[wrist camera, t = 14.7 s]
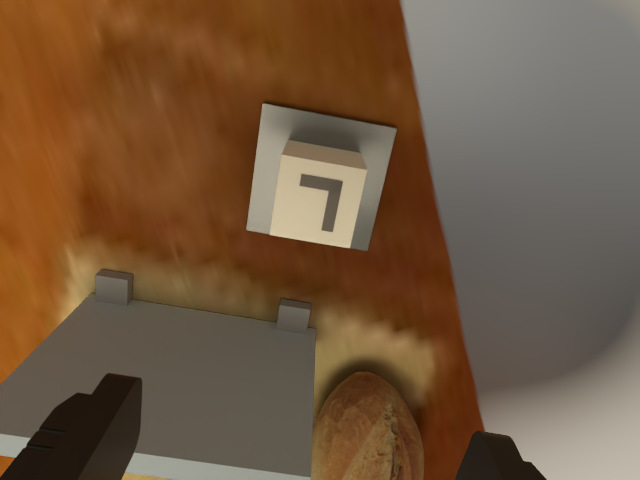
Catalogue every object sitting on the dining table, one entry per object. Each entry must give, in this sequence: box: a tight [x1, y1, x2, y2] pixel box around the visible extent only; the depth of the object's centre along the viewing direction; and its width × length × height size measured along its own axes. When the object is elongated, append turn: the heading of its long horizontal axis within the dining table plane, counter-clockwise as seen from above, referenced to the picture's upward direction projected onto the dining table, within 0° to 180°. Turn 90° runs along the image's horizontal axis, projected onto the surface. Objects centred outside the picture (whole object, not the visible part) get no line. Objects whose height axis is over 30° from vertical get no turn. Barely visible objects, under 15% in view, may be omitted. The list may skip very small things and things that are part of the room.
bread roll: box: [311, 371, 424, 480], centre depth 37 cm, size 10×15×8 cm, turn 175°
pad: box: [247, 103, 397, 251], centre depth 32 cm, size 9×9×1 cm
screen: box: [0, 269, 316, 480], centre depth 30 cm, size 18×6×14 cm, turn 80°
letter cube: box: [270, 140, 367, 248], centre depth 29 cm, size 5×5×5 cm
